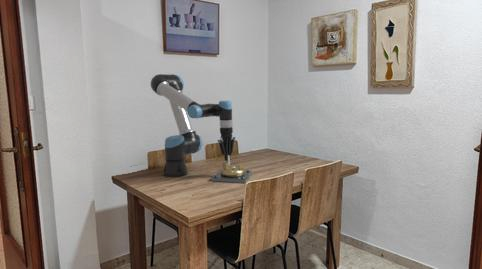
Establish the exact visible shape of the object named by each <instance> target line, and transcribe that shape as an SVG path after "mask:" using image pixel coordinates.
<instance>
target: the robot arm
mask: <svg viewBox="0 0 482 269" xmlns="http://www.w3.org/2000/svg"><path fill="white" fill-rule="evenodd" d="M184 86H185V83H184V80H183V79H182V77H181V76H180V75H178V74H173V73H172V74H162V73H160V74H156V75H154V76H152V78H151V80H150V88H151V90H152V91H153V92H154V93H155V94H156V95H158V96H161V97H164V98H166V99H167V100H168V101H169V103H170V107H171V110H172V112H173V117H174V120H175V123H176V126H177V129H178V130H177V131H178V135H177V134H176V135H170V136H168V137H166V138H165V141H164V153H165V154H164V155H165V156H164V159H165V160H164V161H165V162H164V166H163V170H162V174H163V176H164V175H165V176H164V177H169V178H170V177H171V178H173V177H174V178H175V177H182V176H186V175H188V173H189V172H188V170H189V169H188V167H187V165H186V161H185V158H186V157H185V156H187V155H191V154H193V155H194V154H195V153H198V152H200V151H201V150H202V147H203V139H202V137H201V136H200V135H199V134H197V132H196V130H194V129H193V127H192V124H191V122H190V119H200V118H201V119H203V118H210V117H219V127H220V128H219V133H220V139H217V142H218V144H219V148H220V153H221V155H223V156H224V162H228V166H231V155H232V153H233V152H234V146H235V140H236V137H235V136H233V132H234V131H233V126H234V125H233V106H232V101H231V100H219V102H218V103H204V104H200V103H198V102H196V101H195V100H193V99H192V98H190V97H188V96H187V95H185V94H184V93H183V90H184Z"/></svg>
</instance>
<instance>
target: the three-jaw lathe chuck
mask: <svg viewBox="0 0 482 269" xmlns="http://www.w3.org/2000/svg"><path fill="white" fill-rule="evenodd" d="M244 165H245V164H244V162H243V161H240V162H238V166H236V165H230V166H228V162H225V161H223V162H222V168H221V169H220V170H221V175H222V176H226V177H238V176H242V175H244V171H245V167H244Z"/></svg>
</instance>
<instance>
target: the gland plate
mask: <svg viewBox="0 0 482 269" xmlns="http://www.w3.org/2000/svg"><path fill="white" fill-rule="evenodd" d="M252 175H253V170H244V175H242V176H238V177H226V176H222V175H221V169H220V170H219V171H217V172H216V173H215V174H214V175H212V177H210V181H211V182H221V183H233V184H247V182H248V180H249V179H250V178H251V176H252Z"/></svg>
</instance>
